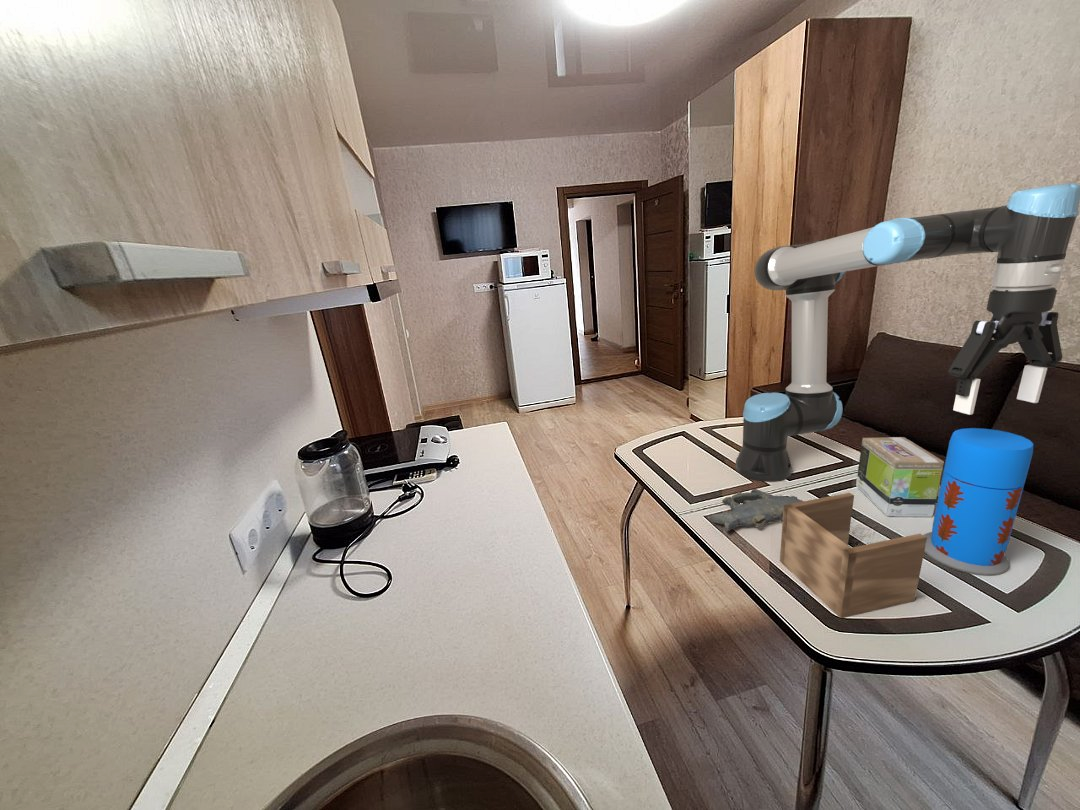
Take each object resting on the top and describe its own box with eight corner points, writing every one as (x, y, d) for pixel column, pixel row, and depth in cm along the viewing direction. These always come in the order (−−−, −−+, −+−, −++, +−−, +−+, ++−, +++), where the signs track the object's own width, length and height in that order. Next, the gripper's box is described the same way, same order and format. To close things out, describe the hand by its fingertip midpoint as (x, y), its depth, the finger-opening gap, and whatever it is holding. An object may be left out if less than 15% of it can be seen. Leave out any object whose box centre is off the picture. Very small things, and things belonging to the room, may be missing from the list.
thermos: (916, 537, 91) (936, 432, 84) (961, 529, 92) (985, 424, 84) (969, 570, 81) (997, 454, 73) (1020, 562, 81) (1053, 445, 74)
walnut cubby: (779, 561, 90) (783, 505, 86) (842, 548, 92) (849, 492, 88) (840, 618, 75) (849, 553, 71) (914, 601, 77) (927, 537, 72)
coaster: (903, 540, 92) (903, 537, 91) (955, 530, 93) (955, 526, 93) (969, 581, 79) (970, 578, 79) (1027, 568, 81) (1028, 564, 80)
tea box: (935, 518, 98) (946, 461, 93) (885, 517, 100) (894, 462, 95) (896, 485, 112) (905, 435, 107) (854, 486, 114) (860, 436, 109)
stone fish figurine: (817, 498, 102) (770, 478, 116) (728, 521, 97) (691, 497, 111) (817, 517, 103) (771, 495, 117) (729, 540, 98) (692, 514, 112)
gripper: (984, 298, 65) (958, 423, 72) (1117, 278, 68) (1080, 401, 74) (934, 296, 72) (914, 410, 79) (1056, 278, 75) (1028, 390, 81)
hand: (995, 406), depth 76 cm, fingers open, 13 cm apart
